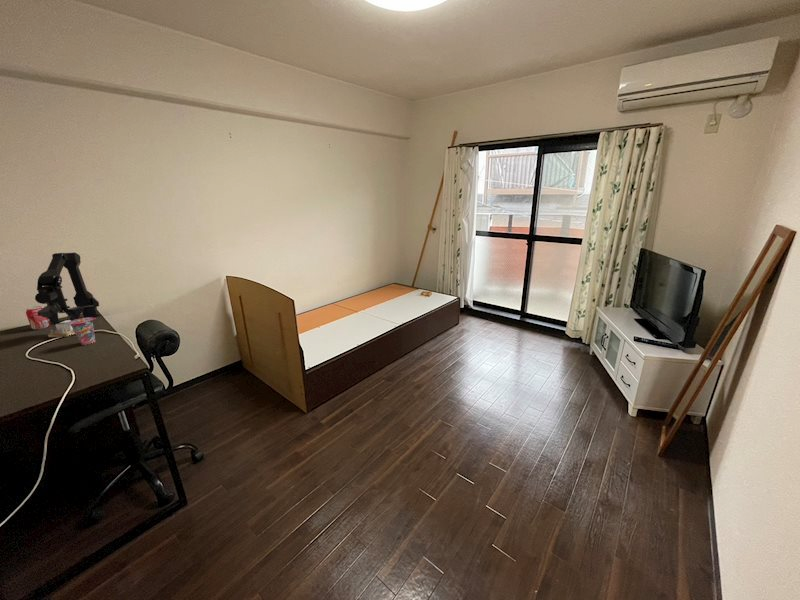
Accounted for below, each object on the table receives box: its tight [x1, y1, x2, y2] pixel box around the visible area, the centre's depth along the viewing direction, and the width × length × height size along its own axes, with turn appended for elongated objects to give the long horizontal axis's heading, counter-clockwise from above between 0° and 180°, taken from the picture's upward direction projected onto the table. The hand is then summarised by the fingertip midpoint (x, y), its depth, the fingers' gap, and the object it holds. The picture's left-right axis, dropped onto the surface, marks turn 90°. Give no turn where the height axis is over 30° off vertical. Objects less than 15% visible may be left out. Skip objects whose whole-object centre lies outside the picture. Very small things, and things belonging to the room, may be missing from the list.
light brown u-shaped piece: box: [47, 328, 75, 338], centre depth 170 cm, size 9×9×4 cm
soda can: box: [25, 305, 50, 330], centre depth 178 cm, size 7×7×12 cm
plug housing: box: [54, 319, 73, 332], centre depth 171 cm, size 6×4×6 cm
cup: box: [69, 317, 97, 346], centre depth 157 cm, size 9×8×12 cm
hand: (66, 326), depth 171 cm, fingers open, 9 cm apart
